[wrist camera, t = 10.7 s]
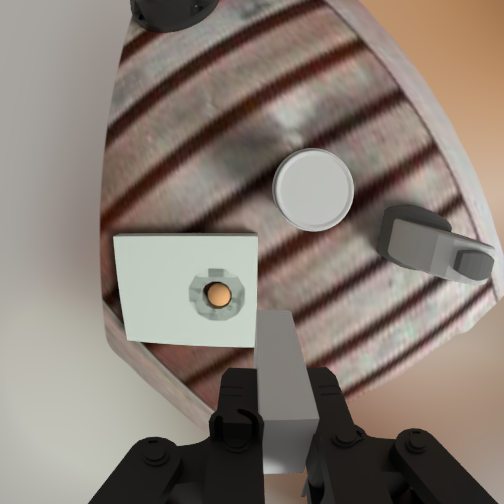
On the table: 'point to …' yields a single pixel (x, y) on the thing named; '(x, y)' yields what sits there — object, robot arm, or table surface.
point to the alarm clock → (433, 246)
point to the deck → (187, 287)
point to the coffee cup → (313, 189)
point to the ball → (219, 294)
